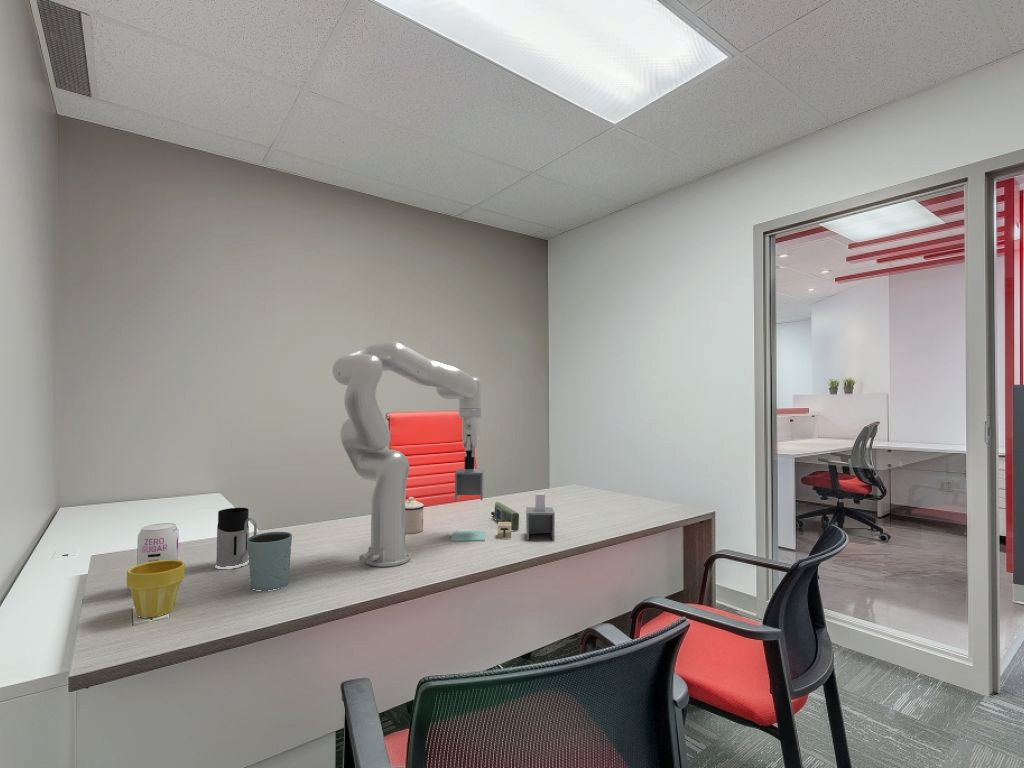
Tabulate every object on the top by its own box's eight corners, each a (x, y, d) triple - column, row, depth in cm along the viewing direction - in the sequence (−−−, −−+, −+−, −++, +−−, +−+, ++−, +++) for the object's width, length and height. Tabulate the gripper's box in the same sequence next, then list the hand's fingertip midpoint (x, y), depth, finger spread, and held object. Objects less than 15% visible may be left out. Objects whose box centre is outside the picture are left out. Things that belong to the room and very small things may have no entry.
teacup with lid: (428, 531, 180) (428, 498, 180) (404, 535, 174) (405, 501, 175) (412, 524, 189) (412, 492, 190) (389, 528, 184) (389, 495, 184)
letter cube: (511, 539, 171) (511, 525, 171) (497, 539, 171) (497, 525, 171) (511, 535, 176) (511, 522, 176) (498, 535, 176) (498, 522, 176)
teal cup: (297, 585, 127) (298, 537, 128) (253, 596, 121) (254, 544, 121) (282, 575, 135) (283, 529, 135) (240, 584, 128) (241, 536, 128)
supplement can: (170, 580, 131) (171, 520, 131) (182, 587, 126) (183, 526, 126) (131, 589, 125) (133, 526, 125) (142, 597, 119) (144, 532, 120)
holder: (237, 557, 149) (238, 505, 150) (269, 565, 143) (270, 511, 143) (207, 566, 142) (208, 511, 142) (239, 575, 135) (241, 517, 135)
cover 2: (554, 540, 169) (554, 496, 170) (527, 540, 169) (527, 496, 169) (552, 533, 178) (552, 491, 178) (526, 533, 178) (526, 491, 178)
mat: (484, 541, 168) (484, 539, 168) (450, 541, 168) (450, 539, 168) (486, 532, 179) (486, 530, 179) (454, 532, 179) (454, 530, 179)
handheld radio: (510, 532, 181) (488, 516, 204) (519, 531, 182) (495, 516, 205) (511, 513, 181) (488, 499, 204) (520, 512, 182) (496, 499, 205)
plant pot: (175, 598, 119) (176, 555, 119) (190, 611, 112) (191, 565, 112) (120, 612, 111) (121, 566, 111) (132, 626, 104) (134, 578, 105)
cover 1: (482, 500, 170) (482, 455, 170) (454, 500, 170) (455, 455, 170) (483, 494, 179) (483, 453, 179) (457, 494, 179) (457, 452, 179)
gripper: (479, 414, 167) (479, 471, 166) (482, 413, 183) (482, 465, 182) (456, 414, 167) (456, 471, 166) (461, 413, 183) (460, 465, 182)
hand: (469, 467), depth 174 cm, fingers closed on cover 1, 3 cm apart
